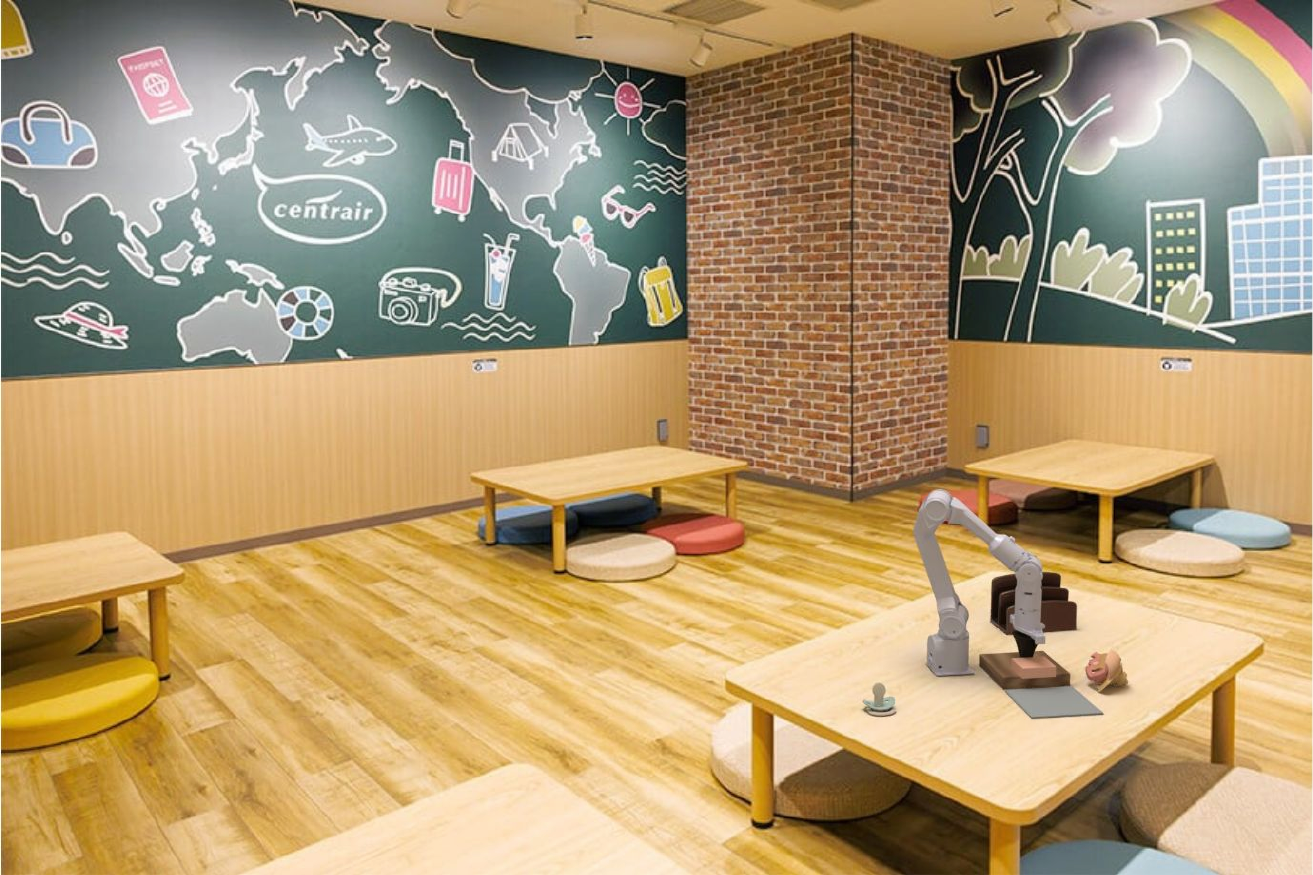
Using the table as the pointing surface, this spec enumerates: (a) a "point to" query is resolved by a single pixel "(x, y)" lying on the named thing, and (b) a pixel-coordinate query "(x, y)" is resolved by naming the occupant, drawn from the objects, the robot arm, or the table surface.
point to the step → (1008, 679)
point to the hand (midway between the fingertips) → (1025, 661)
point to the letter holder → (1053, 604)
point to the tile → (1033, 667)
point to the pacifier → (880, 702)
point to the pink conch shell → (1106, 670)
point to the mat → (1053, 702)
